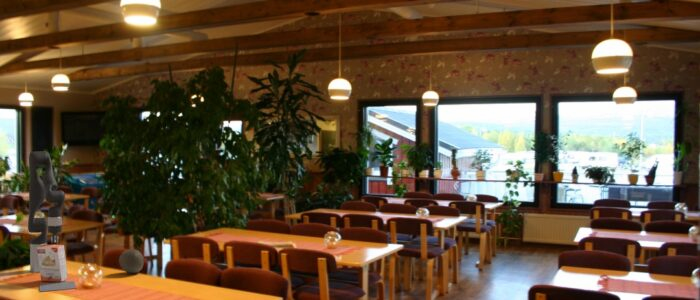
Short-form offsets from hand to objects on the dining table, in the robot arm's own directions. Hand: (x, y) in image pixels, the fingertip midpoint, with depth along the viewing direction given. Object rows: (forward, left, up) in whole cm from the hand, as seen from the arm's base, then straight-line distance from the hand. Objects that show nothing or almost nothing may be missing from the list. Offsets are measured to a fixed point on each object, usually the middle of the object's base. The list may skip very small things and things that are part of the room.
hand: (54, 253), depth 352 cm
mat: (+19, +1, -15) cm, 25 cm away
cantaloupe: (+2, +43, -16) cm, 46 cm away
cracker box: (+5, 0, -15) cm, 16 cm away
